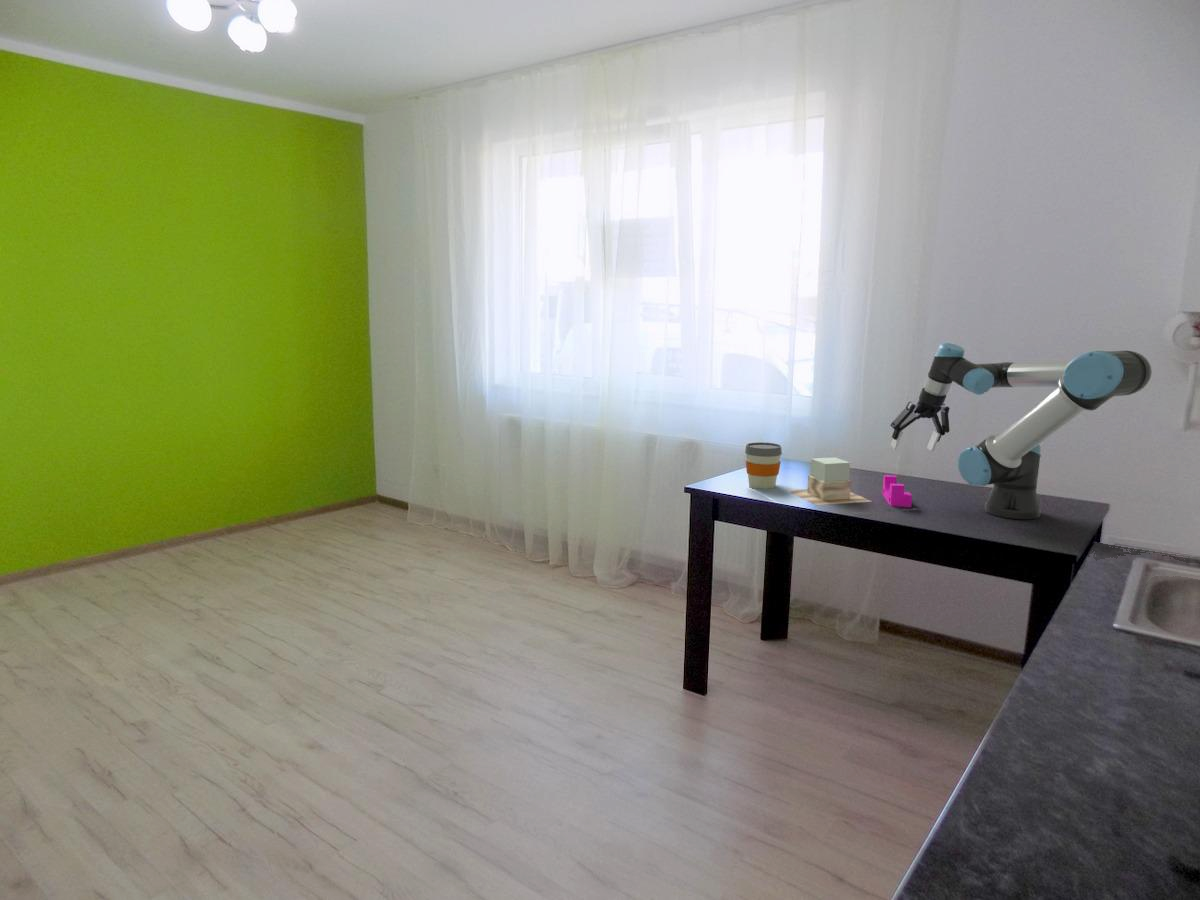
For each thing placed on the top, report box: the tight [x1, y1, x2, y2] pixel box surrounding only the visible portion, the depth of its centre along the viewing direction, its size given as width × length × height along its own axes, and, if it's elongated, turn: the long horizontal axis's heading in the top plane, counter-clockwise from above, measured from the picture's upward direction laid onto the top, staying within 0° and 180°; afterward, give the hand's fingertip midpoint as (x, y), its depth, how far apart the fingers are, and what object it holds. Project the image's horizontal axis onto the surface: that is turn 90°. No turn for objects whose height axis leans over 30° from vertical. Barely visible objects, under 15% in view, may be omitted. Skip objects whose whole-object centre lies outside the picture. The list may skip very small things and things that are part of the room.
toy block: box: [882, 474, 913, 508], centre depth 245 cm, size 15×6×8 cm, turn 169°
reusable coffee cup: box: [744, 441, 783, 490], centre depth 265 cm, size 13×13×15 cm
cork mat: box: [786, 488, 872, 506], centre depth 252 cm, size 20×20×1 cm
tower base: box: [807, 475, 852, 500], centre depth 251 cm, size 10×10×6 cm
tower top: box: [809, 457, 851, 482], centre depth 250 cm, size 9×9×6 cm
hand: (911, 448), depth 250 cm, fingers open, 13 cm apart
